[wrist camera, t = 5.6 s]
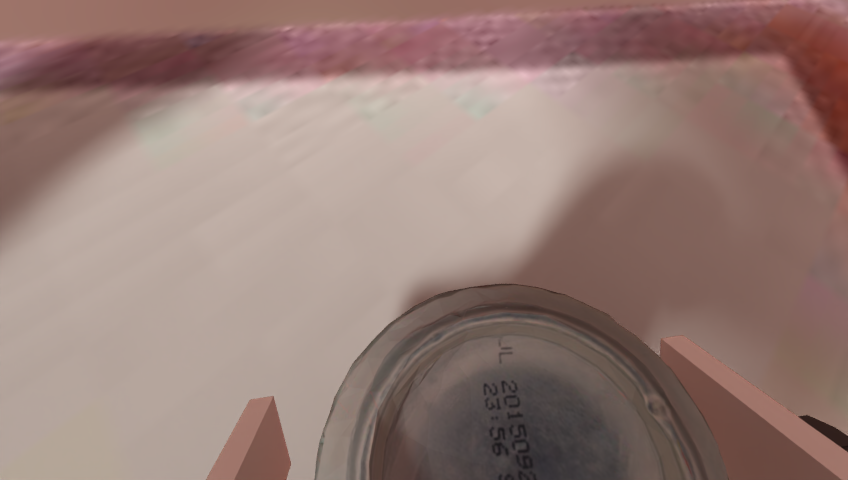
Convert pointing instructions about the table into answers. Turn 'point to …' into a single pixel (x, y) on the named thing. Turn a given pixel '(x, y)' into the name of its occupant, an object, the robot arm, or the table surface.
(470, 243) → the table surface
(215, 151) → the table surface
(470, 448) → the soda can
